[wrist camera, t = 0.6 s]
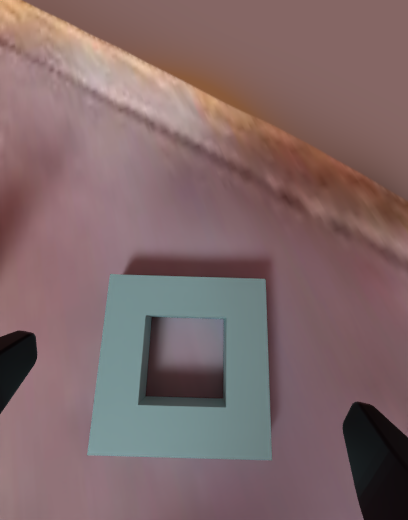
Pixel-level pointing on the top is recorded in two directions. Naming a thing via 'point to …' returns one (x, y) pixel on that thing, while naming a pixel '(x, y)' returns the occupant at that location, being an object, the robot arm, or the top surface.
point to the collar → (183, 408)
